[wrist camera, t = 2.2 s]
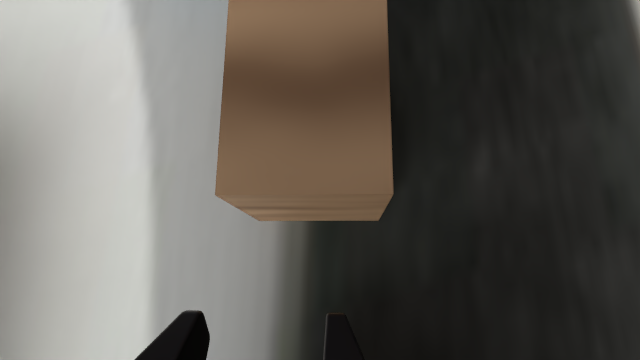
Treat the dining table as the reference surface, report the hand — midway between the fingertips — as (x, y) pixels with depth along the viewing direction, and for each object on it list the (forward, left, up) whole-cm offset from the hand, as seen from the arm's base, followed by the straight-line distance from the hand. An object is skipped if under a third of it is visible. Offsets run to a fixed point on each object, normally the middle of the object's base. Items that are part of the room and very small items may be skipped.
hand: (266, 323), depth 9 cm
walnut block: (+7, -6, -14) cm, 16 cm away
